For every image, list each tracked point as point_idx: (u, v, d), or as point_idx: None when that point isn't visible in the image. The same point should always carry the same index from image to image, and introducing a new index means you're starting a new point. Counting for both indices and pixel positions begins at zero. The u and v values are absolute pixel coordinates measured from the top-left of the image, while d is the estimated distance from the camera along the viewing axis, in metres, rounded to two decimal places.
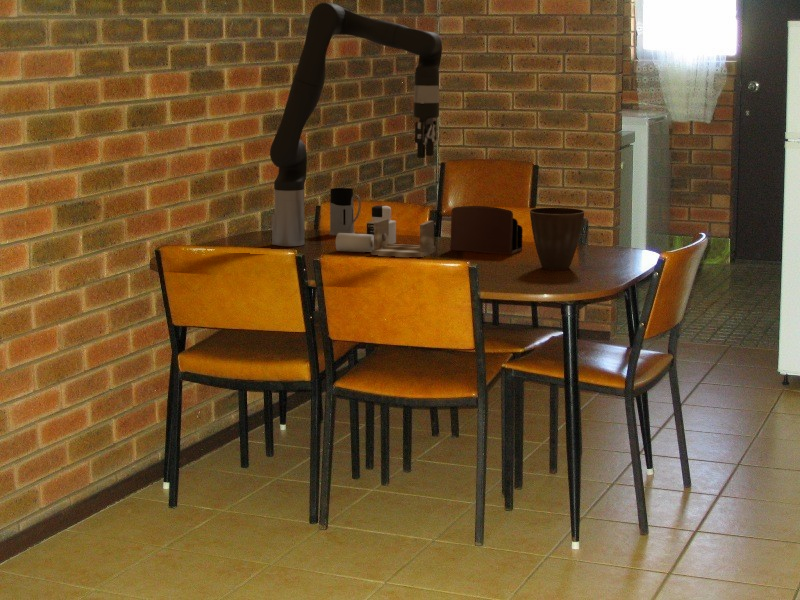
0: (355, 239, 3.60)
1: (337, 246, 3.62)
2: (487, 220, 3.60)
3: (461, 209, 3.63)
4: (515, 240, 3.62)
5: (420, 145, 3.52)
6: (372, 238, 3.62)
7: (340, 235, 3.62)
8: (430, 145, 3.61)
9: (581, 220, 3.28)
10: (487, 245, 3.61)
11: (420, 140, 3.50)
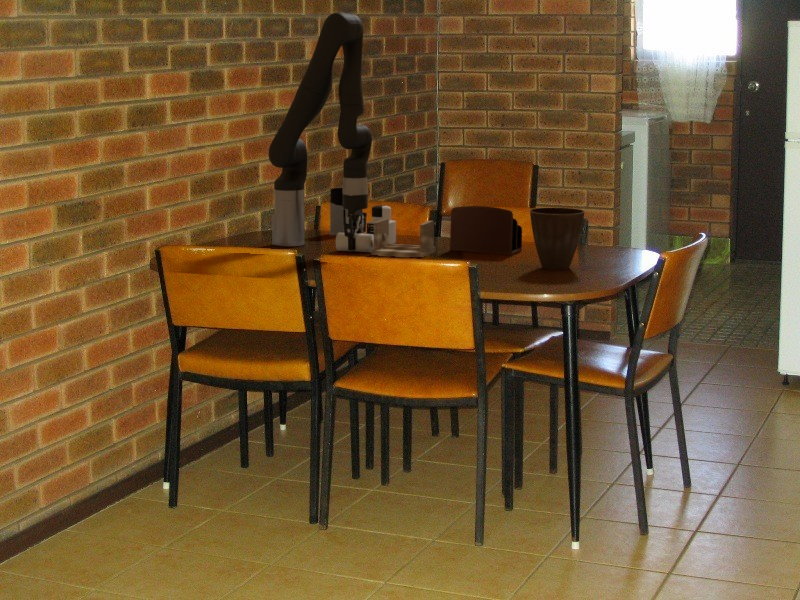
0: None
1: (337, 246, 3.62)
2: (487, 220, 3.60)
3: (461, 209, 3.63)
4: (515, 240, 3.62)
5: (350, 238, 3.59)
6: (372, 238, 3.62)
7: (340, 235, 3.62)
8: None
9: (581, 220, 3.28)
10: (487, 245, 3.61)
11: (350, 234, 3.57)
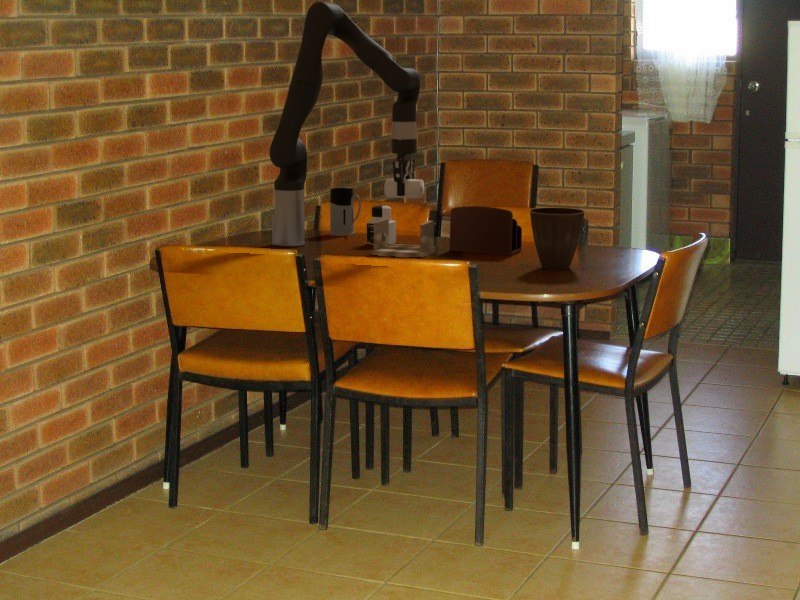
0: None
1: (386, 192, 3.56)
2: (486, 220, 3.59)
3: (460, 209, 3.62)
4: (514, 240, 3.61)
5: (399, 183, 3.52)
6: (422, 183, 3.55)
7: (389, 181, 3.56)
8: None
9: (581, 220, 3.28)
10: (487, 245, 3.60)
11: (399, 179, 3.50)
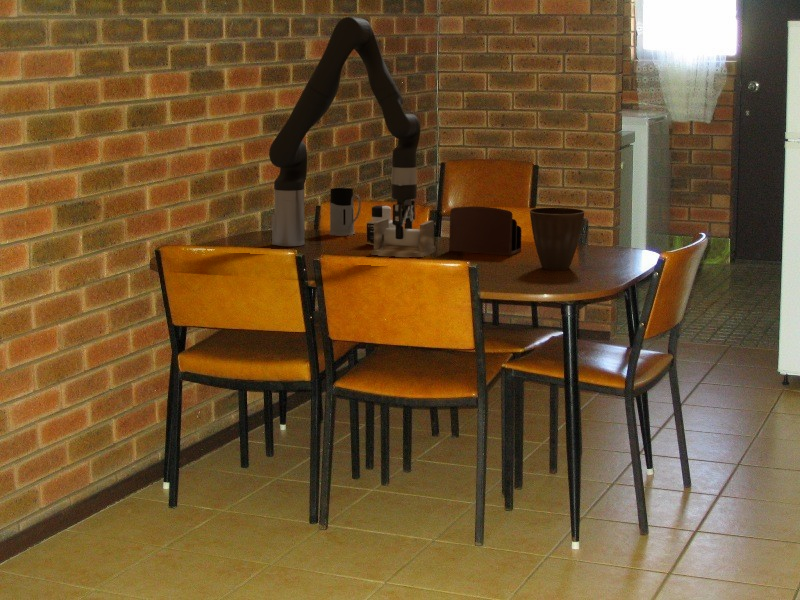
0: (403, 235, 3.56)
1: (386, 241, 3.58)
2: (486, 221, 3.59)
3: (460, 210, 3.62)
4: (514, 241, 3.61)
5: (398, 227, 3.53)
6: None
7: (388, 230, 3.58)
8: (408, 225, 3.62)
9: (581, 220, 3.28)
10: (486, 246, 3.60)
11: (398, 222, 3.51)
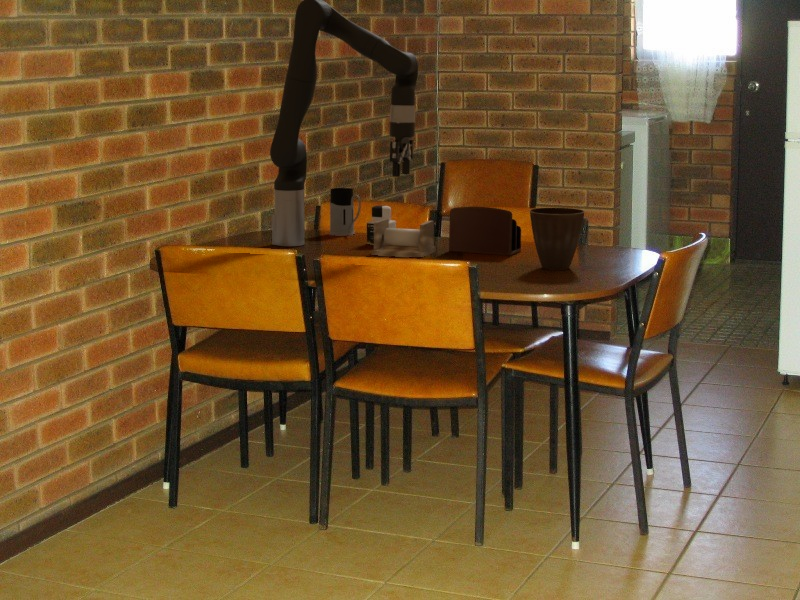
0: (403, 235, 3.56)
1: (386, 241, 3.58)
2: (486, 221, 3.58)
3: (460, 210, 3.61)
4: (514, 241, 3.61)
5: (395, 164, 3.56)
6: None
7: (388, 230, 3.58)
8: (406, 164, 3.64)
9: (581, 220, 3.28)
10: (486, 246, 3.59)
11: (395, 159, 3.54)
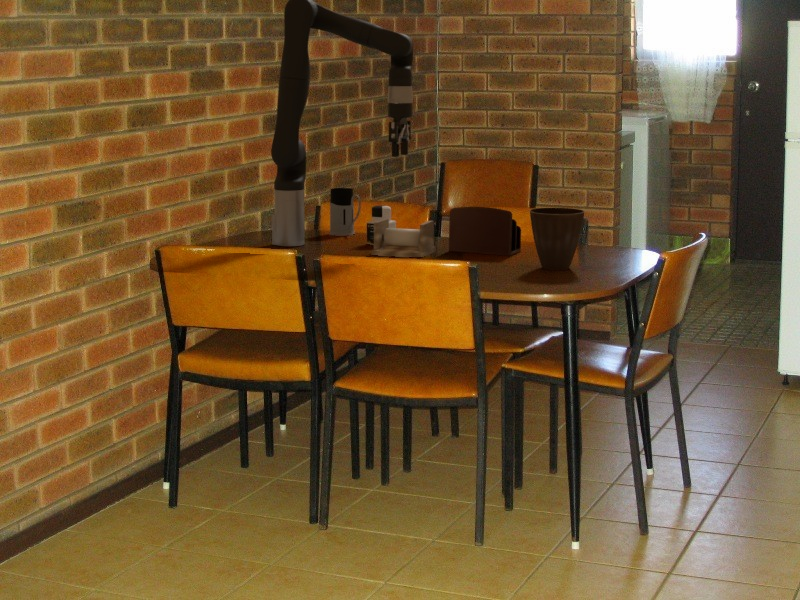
0: (403, 235, 3.56)
1: (386, 241, 3.58)
2: (486, 221, 3.58)
3: (459, 210, 3.61)
4: (514, 241, 3.60)
5: (394, 144, 3.61)
6: None
7: (388, 230, 3.58)
8: (404, 144, 3.69)
9: (581, 220, 3.28)
10: (486, 246, 3.59)
11: (394, 139, 3.59)
